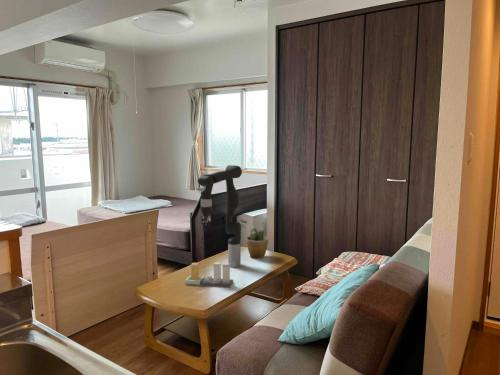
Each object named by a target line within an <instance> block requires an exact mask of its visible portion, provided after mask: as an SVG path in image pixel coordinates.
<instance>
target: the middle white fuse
mask: <svg viewBox="0 0 500 375" xmlns="http://www.w3.org/2000/svg"><path fill="white" fill-rule="evenodd" d="M213 278H214V279H219V282H220V281H221V279H222V263H221V262H217V261H216V262H214V263H213Z"/></svg>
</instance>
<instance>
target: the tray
mask: <svg viewBox="0 0 500 375" xmlns="http://www.w3.org/2000/svg"><path fill="white" fill-rule="evenodd" d="M205 278H206V276H205V275H199V281H198V280H191V274H190V275H189V276H187V278H186V279H185V280H184V283H185V285H186V286H187V285H188V286H197V287H198V286H200V287H201V286H202V281H203V280H204V279H205Z"/></svg>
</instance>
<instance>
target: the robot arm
mask: <svg viewBox="0 0 500 375" xmlns="http://www.w3.org/2000/svg"><path fill="white" fill-rule="evenodd" d="M242 174H243V170H242V167H241V166H239V165H231V164H230V165H227V166H226V167H225V170H223V171H222V170H221V171H217V172H213V173H210V174H203V175H201V176H199V177H198V179H197V183H198V184H199V186H201V187H205V189H202V190H201V191H200V213H201V214H203V215H201V225H202V230H203V231H205V232H206V231H207V228H209V229H210V228H211V222H212V220H213V219H212V212H213V200H212V191H213V187H214V184H217V183H221V182H224V181H225V186H226V188H225V189H226V199H225V200H226V216H225V217H226V219H225V232H226V234H227V235H234V237H231V238H229V239H228V240H227V245H228V246H227V250H228V253H227V255H228V256H227V257H228V258H227V259H228V260H227V261H228V263H230V268H240V267H241V265H242V263H241V254H242V253H241V252H242V250H241V239H242V224H241V223H240V222H237V221H232V220H233V216H234V213H235V212H236V211H237V210H238V207H239V205H240V197H239V192H238V191H237V188H236V187H235V185H234V179H239V178H240V177H241V176H242Z"/></svg>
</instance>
